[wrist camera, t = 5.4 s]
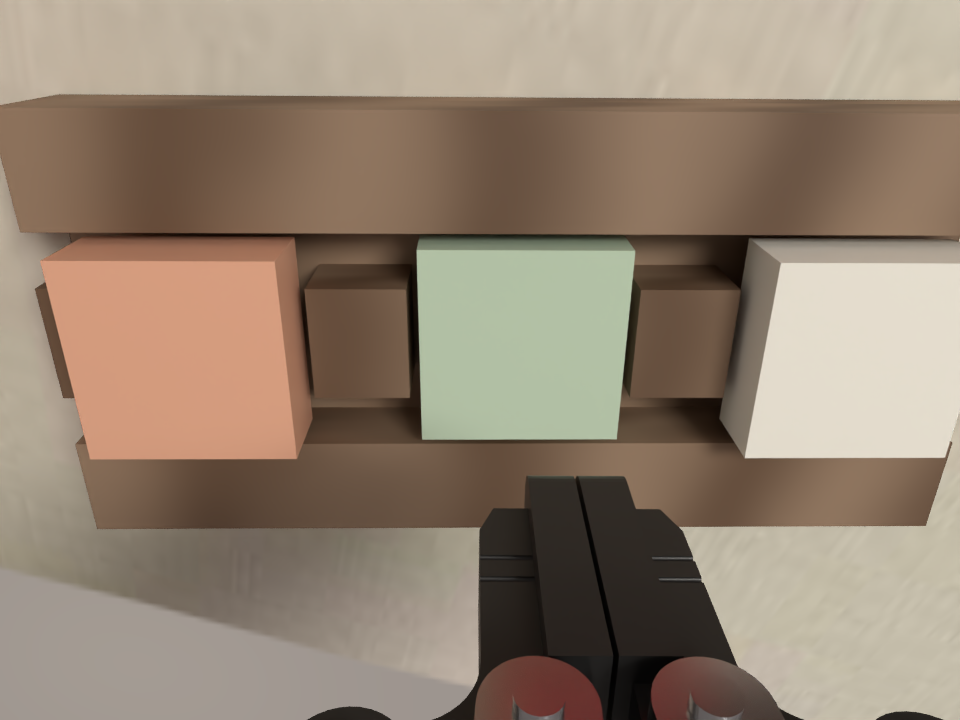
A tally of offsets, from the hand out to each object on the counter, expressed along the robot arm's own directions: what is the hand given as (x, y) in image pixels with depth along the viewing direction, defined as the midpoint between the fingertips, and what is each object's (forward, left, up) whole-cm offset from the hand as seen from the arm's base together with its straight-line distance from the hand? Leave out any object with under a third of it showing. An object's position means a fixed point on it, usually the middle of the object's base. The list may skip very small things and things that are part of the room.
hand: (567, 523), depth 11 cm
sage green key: (0, 0, -9) cm, 9 cm away
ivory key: (-8, 0, -8) cm, 11 cm away
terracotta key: (+8, 0, -8) cm, 11 cm away
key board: (0, 0, -10) cm, 10 cm away
